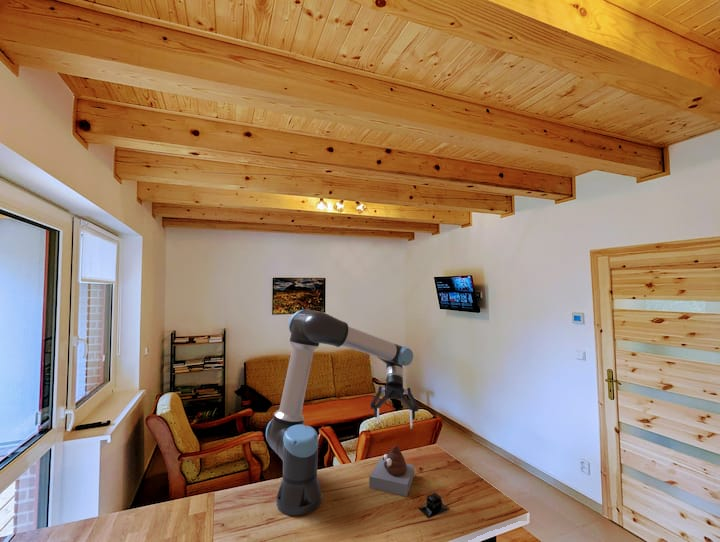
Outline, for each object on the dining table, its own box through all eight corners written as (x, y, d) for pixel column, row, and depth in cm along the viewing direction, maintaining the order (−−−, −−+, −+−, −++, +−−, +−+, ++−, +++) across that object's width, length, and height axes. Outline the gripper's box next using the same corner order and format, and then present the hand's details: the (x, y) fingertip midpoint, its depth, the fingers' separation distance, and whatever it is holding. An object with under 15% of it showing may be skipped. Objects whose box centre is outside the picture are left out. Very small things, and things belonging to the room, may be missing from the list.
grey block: (369, 487, 122) (369, 476, 122) (379, 468, 135) (380, 458, 135) (406, 496, 117) (407, 484, 117) (414, 475, 130) (414, 465, 130)
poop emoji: (410, 475, 123) (410, 449, 124) (389, 478, 121) (389, 452, 121) (399, 461, 133) (400, 437, 133) (379, 464, 130) (380, 440, 131)
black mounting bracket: (426, 523, 105) (426, 508, 105) (412, 509, 111) (412, 495, 111) (455, 510, 111) (455, 496, 111) (440, 498, 117) (440, 485, 117)
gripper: (421, 383, 151) (424, 431, 135) (367, 381, 153) (364, 428, 138) (423, 375, 146) (426, 424, 130) (366, 372, 148) (363, 420, 133)
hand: (394, 426), depth 134 cm, fingers open, 13 cm apart
